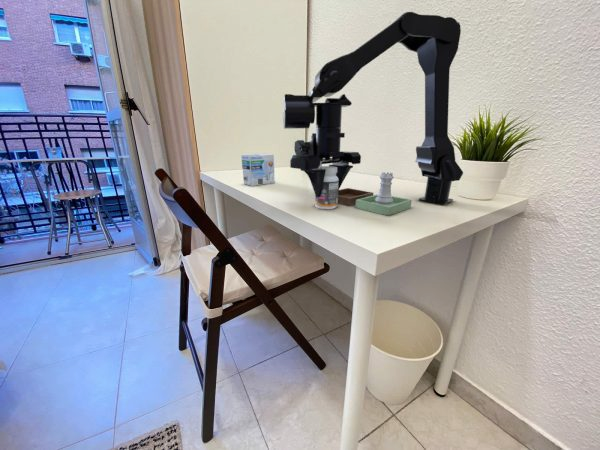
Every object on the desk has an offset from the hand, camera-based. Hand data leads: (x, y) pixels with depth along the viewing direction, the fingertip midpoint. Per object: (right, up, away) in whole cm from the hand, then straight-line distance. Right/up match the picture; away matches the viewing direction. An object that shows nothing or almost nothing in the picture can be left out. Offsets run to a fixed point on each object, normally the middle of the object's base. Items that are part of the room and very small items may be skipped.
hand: (326, 195), depth 61 cm
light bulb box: (-23, +8, +34) cm, 41 cm away
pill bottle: (0, -3, +1) cm, 3 cm away
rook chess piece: (+14, -3, 0) cm, 14 cm away
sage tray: (+14, -3, 0) cm, 14 cm away
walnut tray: (+7, 0, +8) cm, 10 cm away
